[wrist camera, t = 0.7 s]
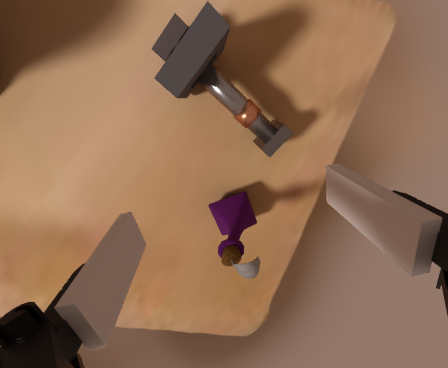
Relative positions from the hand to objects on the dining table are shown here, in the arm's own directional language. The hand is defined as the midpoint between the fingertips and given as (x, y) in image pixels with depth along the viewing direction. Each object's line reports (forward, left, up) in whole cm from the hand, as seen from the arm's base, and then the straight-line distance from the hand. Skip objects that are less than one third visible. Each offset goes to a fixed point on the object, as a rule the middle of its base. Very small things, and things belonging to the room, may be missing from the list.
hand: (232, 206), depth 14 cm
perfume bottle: (+11, -9, -26) cm, 30 cm away
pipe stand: (-4, +6, -26) cm, 27 cm away
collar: (-10, +6, -26) cm, 28 cm away
